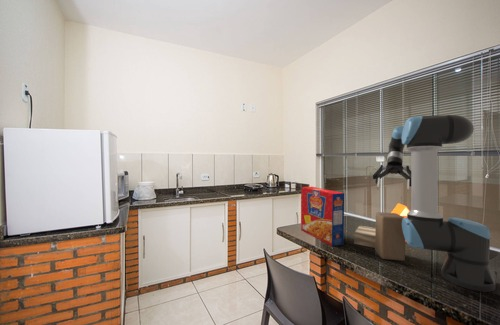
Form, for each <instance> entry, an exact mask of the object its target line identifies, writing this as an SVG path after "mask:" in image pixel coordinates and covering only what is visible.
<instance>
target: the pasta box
mask: <svg viewBox="0 0 500 325" xmlns="http://www.w3.org/2000/svg"><path fill="white" fill-rule="evenodd" d="M300 213H301V215H300V218H301V219H300V220H301V221H300V224H301V226H300V230H301V232H304V233H305V234H307V235H309V236H311V237H313V238H316V239H317V240H319V241H321V242H323V243H324V244H327V245H329V246H330V247H335V246H343V245H344V236H345V235H344V233H345V232H344V230H345V228H344V227H345V192H340V191H337V190H335V191H334V190H332V189H331V190H330V189H325V188H319V187H316V186H302V187H301V211H300Z"/></svg>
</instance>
